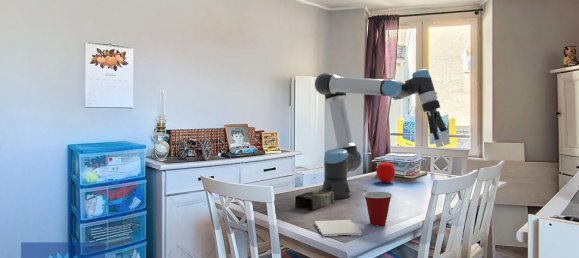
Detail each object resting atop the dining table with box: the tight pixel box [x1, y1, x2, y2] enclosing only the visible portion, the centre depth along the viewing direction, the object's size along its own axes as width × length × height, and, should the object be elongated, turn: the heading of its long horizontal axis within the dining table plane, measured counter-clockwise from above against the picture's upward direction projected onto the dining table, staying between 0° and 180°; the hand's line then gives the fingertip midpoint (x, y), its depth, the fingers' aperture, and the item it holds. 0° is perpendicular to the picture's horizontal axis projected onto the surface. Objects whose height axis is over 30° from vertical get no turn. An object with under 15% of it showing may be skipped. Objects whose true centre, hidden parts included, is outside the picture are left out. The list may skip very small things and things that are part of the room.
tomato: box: [376, 161, 396, 183], centre depth 211 cm, size 11×11×13 cm
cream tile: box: [314, 219, 363, 237], centre depth 127 cm, size 14×14×1 cm
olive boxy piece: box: [294, 189, 335, 211], centre depth 160 cm, size 20×10×6 cm, turn 142°
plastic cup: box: [362, 191, 393, 227], centre depth 133 cm, size 11×11×12 cm
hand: (443, 145), depth 159 cm, fingers open, 13 cm apart
